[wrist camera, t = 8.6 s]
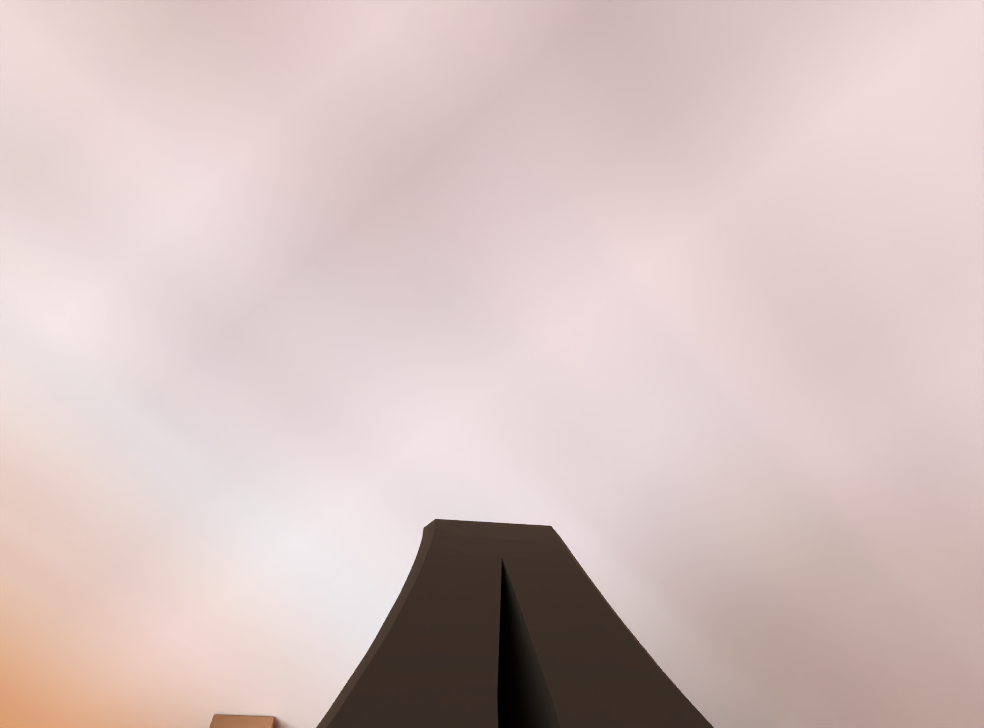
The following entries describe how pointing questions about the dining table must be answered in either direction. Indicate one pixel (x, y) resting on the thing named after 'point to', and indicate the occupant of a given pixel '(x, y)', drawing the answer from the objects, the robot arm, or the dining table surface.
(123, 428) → the dining table surface
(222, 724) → the tunnel lane
